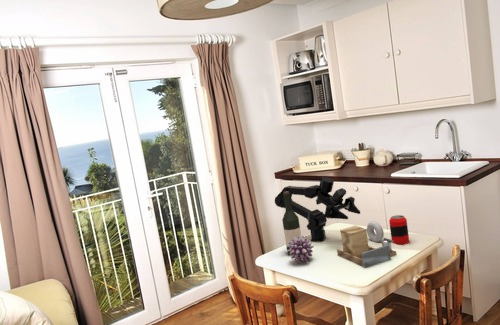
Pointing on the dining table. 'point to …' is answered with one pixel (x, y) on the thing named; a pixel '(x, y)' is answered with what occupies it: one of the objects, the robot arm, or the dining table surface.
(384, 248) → the bay
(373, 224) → the donut
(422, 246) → the dining table surface
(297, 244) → the purple spiky ball
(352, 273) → the dining table surface
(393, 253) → the post
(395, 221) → the soda can
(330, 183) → the robot arm
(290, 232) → the wine bottle
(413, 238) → the dining table surface
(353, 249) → the tall wooden block
